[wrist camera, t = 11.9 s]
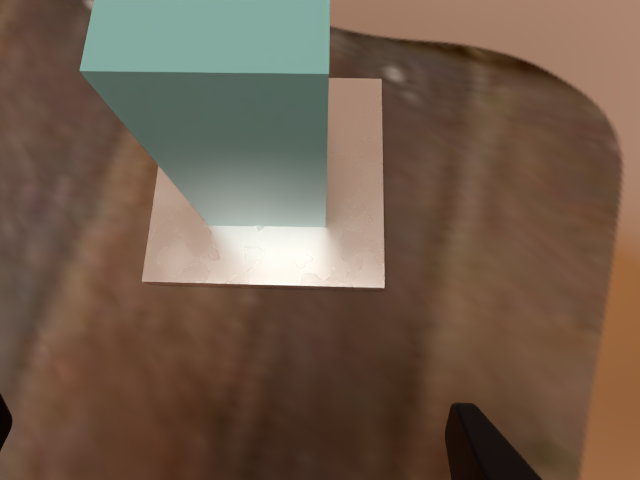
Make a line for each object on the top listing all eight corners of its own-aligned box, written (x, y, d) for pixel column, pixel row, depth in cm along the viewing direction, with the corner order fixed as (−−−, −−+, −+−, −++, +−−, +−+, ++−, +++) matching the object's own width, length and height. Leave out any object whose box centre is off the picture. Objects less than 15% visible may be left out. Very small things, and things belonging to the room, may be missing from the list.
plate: (381, 291, 22) (392, 278, 18) (149, 285, 22) (118, 271, 19) (379, 89, 25) (388, 47, 22) (177, 85, 25) (155, 43, 22)
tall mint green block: (325, 227, 22) (329, 74, 10) (208, 225, 22) (79, 71, 10) (326, 123, 23) (331, -110, 12) (218, 122, 23) (116, -112, 12)
